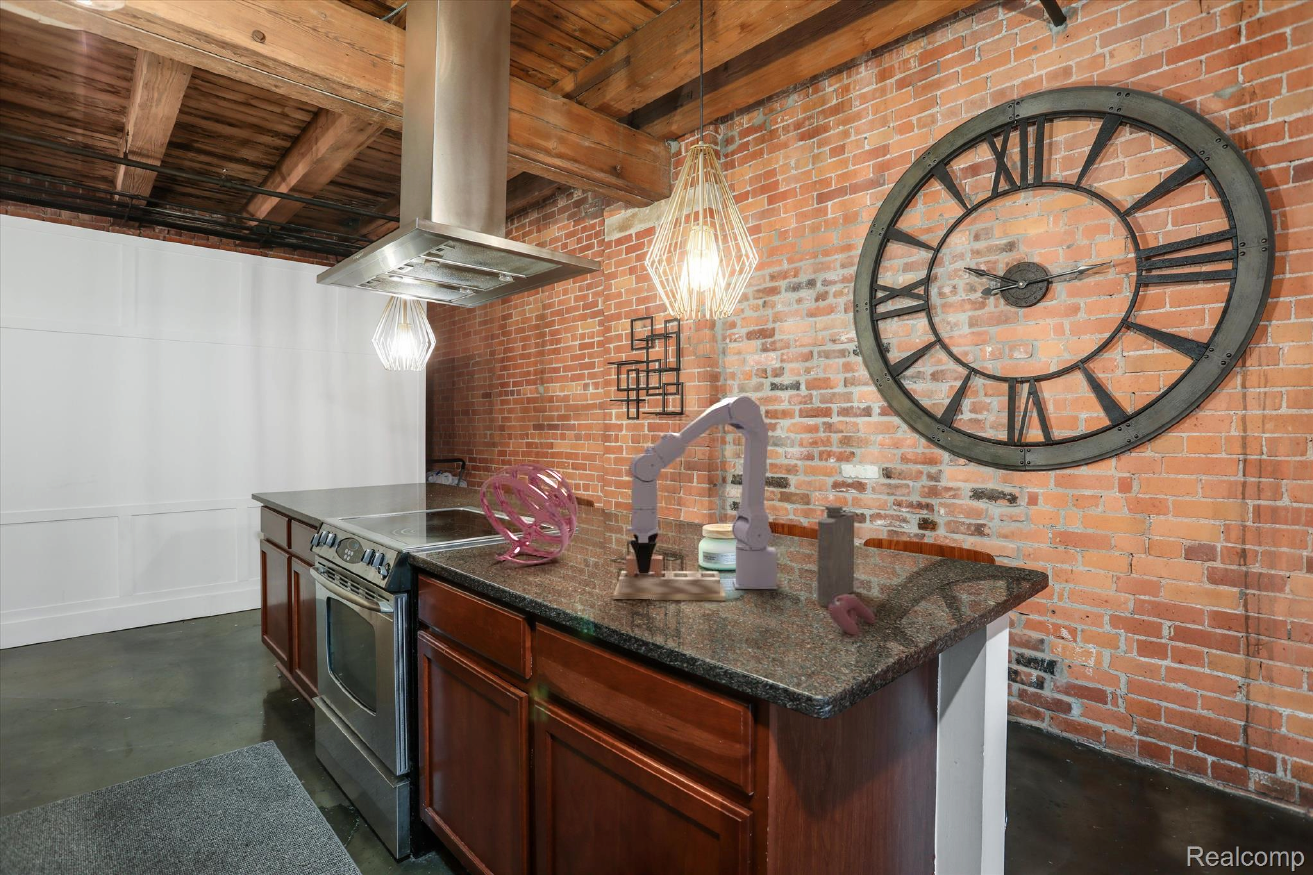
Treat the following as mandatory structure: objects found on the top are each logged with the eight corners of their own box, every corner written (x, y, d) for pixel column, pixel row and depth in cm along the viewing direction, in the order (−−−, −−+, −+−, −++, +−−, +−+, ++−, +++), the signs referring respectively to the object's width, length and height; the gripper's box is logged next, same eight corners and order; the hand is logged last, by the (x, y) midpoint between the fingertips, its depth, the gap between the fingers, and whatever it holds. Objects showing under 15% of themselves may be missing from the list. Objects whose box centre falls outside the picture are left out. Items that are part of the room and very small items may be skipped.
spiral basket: (489, 500, 151) (554, 433, 169) (434, 516, 170) (498, 454, 188) (558, 584, 159) (614, 512, 178) (498, 590, 178) (554, 525, 196)
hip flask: (829, 607, 132) (830, 511, 131) (810, 603, 134) (811, 509, 133) (855, 590, 144) (856, 502, 144) (838, 587, 147) (838, 501, 146)
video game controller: (857, 627, 124) (842, 592, 126) (878, 621, 121) (862, 585, 123) (836, 641, 116) (820, 604, 118) (858, 635, 114) (841, 597, 115)
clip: (662, 586, 144) (662, 555, 144) (662, 590, 141) (662, 558, 141) (627, 586, 144) (627, 555, 144) (626, 589, 141) (625, 558, 141)
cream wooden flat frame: (721, 586, 147) (721, 569, 147) (725, 600, 136) (725, 581, 136) (618, 585, 148) (618, 568, 148) (613, 599, 137) (613, 581, 137)
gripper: (629, 503, 149) (629, 561, 150) (624, 513, 135) (624, 576, 135) (659, 503, 149) (659, 561, 149) (657, 513, 134) (657, 576, 135)
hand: (644, 568), depth 142 cm, fingers open, 7 cm apart
